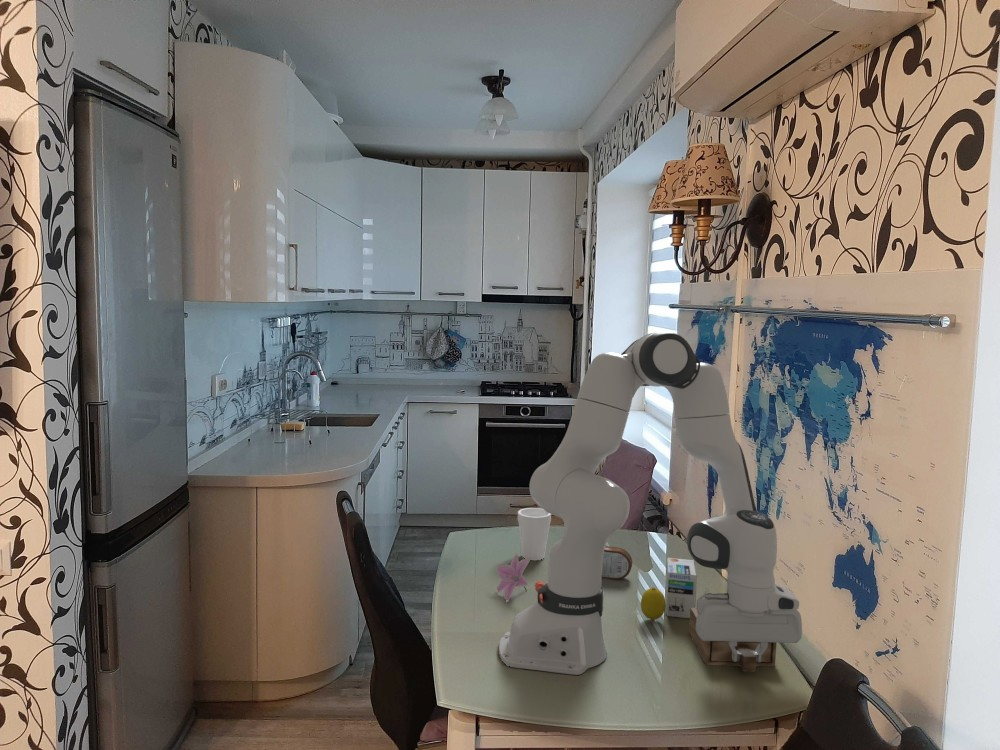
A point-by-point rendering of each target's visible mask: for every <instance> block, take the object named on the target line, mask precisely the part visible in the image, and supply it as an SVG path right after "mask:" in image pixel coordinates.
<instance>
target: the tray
mask: <svg viewBox="0 0 1000 750" xmlns="http://www.w3.org/2000/svg"><path fill="white" fill-rule="evenodd" d="M758 645H759V643H758V642H737V646H734V647H735V649H736V650H739V651H740V652H741V654H742V658H741V659H742V661H741V662H738V664H739V665H740V666H739V667H740V669H741V670H742V672H756V667H757V666H756V656H755V654H754V653H753V652H752V650H756V648H757V646H758ZM710 659H711V661H733V660H732V650H731V648H730V646H729V644H728V642H727V641H711V642H710ZM770 659H771V642H768V647H767V649H766V650H765V651H764V653H763V654H762V655H761V662H770Z"/></svg>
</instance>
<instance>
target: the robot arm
mask: <svg viewBox="0 0 1000 750" xmlns="http://www.w3.org/2000/svg"><path fill="white" fill-rule="evenodd" d="M640 387H664V388H665V390H668V392H669V394H670V396H671V399H672V403H673V410H674V412H673V413H674V424H675V432H676V437H677V440H678V442H679V445H680V447H681V448H682V449H683V451H685V452H686V453H687V454H688V455H690V456H691V457H693V458H695V459H697V460H699V461H702V462H704V463H706V464H709V465H710V466H711V467H712V468H713V469H714V470H715V472H716V473H717V475H718V480H719V484H720V488H721V493H722V497H723V498H722V499H723V501H724V507H725V510H724V513H723V514H722V515H719V516H716V517H711V518H708V519H703V520H700V521H698V522H695V523H694V524H693V525H691V526H690V528H689V530H688V531H687V534H686V535H687V536H686V545H687V549H688V552H689V555H690V556H691V557H692V560H694V562H695V563H697V564H699V565H700V566H702V567H705V568H709V569H715V570H725V571H727V581H726V583H727V585H726V592H725V593H722V592H721V593H719V592H718V593H711V592H706V593H704V594H703V595H701V596H700V597H698V599H696V608H697V612H698V614H697V620H696V632H697V634H698V636H699V637H700V638H701V639H702V640H703V641H727V642H728V644H729V646H730V648H731V650H732V660H733V661H734V662H741V661H742V659H741V658H742V654H741V652H740V651H739V650H736V649H735V647H734V646H737V642H758V643H759V645H758V646H757V648H756V650H752V652H753V653H754V654H755V656H756V662H761V655H762V654H763V653H764V651H765V650H766V649H767V647H768V642H775V643H776V644H778V643H781V644H784V643H785V644H797V643H799V642H800V640H801V639H802V637H803V622H802V615H801V613H800V611H798V610H799V608H800V601H799V599H798V598H797V596H796V595H795V594H794V593H793V592H792V591H790V590H789V589H788V588H787V587H785V586H783V585H779V584H776V580H775V575H774V572H775V571H774V570H775V566H776V564H777V556H778V554H777V553H778V544H777V543H778V538H777V535H778V534H777V530H776V527H775V526H776V525H775V523H774V522H773V520H772V519H771V518H770V517H769V516H767V515H766V514H764V513H762V512H759V511H758V510H757V507H756V503H755V498H754V494H753V489H752V485H751V481H750V476H749V471H748V466H747V461H746V458H745V455H744V451H743V448H742V447H741V445H740V443H739V442H738V440H737V439H736V436H735V433H734V430H733V426H732V421H731V415H730V413H731V412H730V405H729V404H730V403H729V399H728V395H727V389H726V385H725V382H724V379H723V376H722V373H721V371H720V370H719V369H718V367H716V366H715V365H713V364H711V363H707V362H701V360H700V359H699V358H698V356H697V355H696V353H695V352H694V351H693V349H692V347H691V345H690V344H689V342H688V341H687V340H686V339H685V338H684V337H683V336H682V335H680V334H678V333H676V332H672V331H668V330H666V331H665V330H663V331H657V332H651V333H647V334H645V335H643V336H641V337H640V338H638V339H636V340H635V341H633V342H632V343H631V344H629V346H628V347H627V348H626V349H624V351H623V352H622V353H621V354H620V353H616V352H602V353H600V354H598V355H596V356H595V357H594V358H593V359H592V361H591V362H590V365H589V367H588V368H587V371H586V372H585V375H584V378H583V380H582V382H581V386H580V388H579V391H578V394H577V397H576V401H575V404H574V407H573V411H572V414H571V418H570V421H569V424H568V426H567V430H566V432H565V435H564V437H563V438H562V440H561V443H560V444H559V446H558V447H557V448H556V451H554V453H553V454H552V456H551V457H550V458H549V459H548V460H547V461H546V462H545V463H543V464H541V465H540V466H538V467H537V468H536V469H535V470H534V472H533V473H532V475H531V477H530V480H529V493H530V496H531V498H532V500H533V502H535V503H536V504H537V505H538V506H539V508H541V509H544V510H545V511H546V512H548V513H550V514H551V516H552V515H553V516H555V517H557V518H559V519H561V520H563V523H564V527H563V532H562V534H561V538H560V539H559V540H557V541H556V542H554V543H553V544H552V545H551V547H550V548H549V551H548V566H547V568H548V569H547V583H544V581H542V580H536V582H535V584H534V587H535V588H534V589H535V591H536V592H537V601H535V602H534V603H532V604H531V605H529V606H528V607H526V608H524V609H523V610H521V611H520V612H518V613H517V614H516V615H515V617H514V618H513V621H512V623H511V628H510V631H507V632H505V633H504V634H503V635H502V636H501V637H500V640H499V644H498V655H499V654H500V656H499V658H500V657H501V659H502V660H501V659H500V660H501V662H502V661H503V662H504V663H505V664H506V665H505V664H504V663H503V662H502V663H503V664H504V665H505V666H506V667H509V666H510V668H516V669H526V670H534V671H540V672H541V671H542V672H551V673H557V674H565V675H575V676H577V675H581V674H583V673H585V672H586V671H587V670H588V669H590V668H593V667H596V666H598V665H600V664H601V663H603V662H604V661H605V660H606V658H607V655H608V653H607V649H606V645H605V642H604V636H603V628H602V616H603V611H604V591H603V587H602V578H601V577H602V562H603V554H604V550H605V547H606V546H607V544H608V541H609V539H610V538H611V536H612V535H613V534H614V533H615V532H618V531H619V530H620V529H621V528H622V527H623V526H624V525H625V523H626V522H627V520H628V517H629V513H630V508H631V506H630V498H629V495H628V493H627V492H626V491H625V490H624V489H623V488H622V487H620V486H619V485H618V484H616V483H615V482H614V481H612V480H611V479H609V478H607V477H604V476H601V475H599V474H595V473H596V471H597V470H598V468H599V466H600V464H601V463H602V462H603V461H604V459H606V458H607V457H609V456H610V455H612V454H614V453H615V452H617V450H618V449H619V448H620V446H621V442H622V440H623V436H624V433H625V428H626V426H627V421H628V419H629V414H630V411H631V407H632V402H633V399H634V397H635V395H636V394H637V391H638V390H639V389H640ZM505 638H507V639H505Z"/></svg>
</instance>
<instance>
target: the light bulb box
mask: <svg viewBox="0 0 1000 750" xmlns="http://www.w3.org/2000/svg"><path fill="white" fill-rule="evenodd" d="M695 563H696V562H695V560H694V559H684V558H674V557H667V559H666V580H665V581H666V582H665V583H666V585H665V586H666V587H665V588H666V589H665V611H666V616H667V617H675V618H681V619H682V618H684V619H690V608H696V607H697V580H698V579H697V578H698V574H697V570H696V566H695Z"/></svg>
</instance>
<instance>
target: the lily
mask: <svg viewBox="0 0 1000 750" xmlns="http://www.w3.org/2000/svg"><path fill="white" fill-rule="evenodd" d="M530 560H531V558H526V559H524V558H522V559H521V560H520V561H519V555H518V553H515V554H514V555H513V558H512V560H511V561H510V564H500V565H497V566H496V567H495V570H496V573H497V575H498V577H499V578H500V580H501V581H500V583H499V584H498V585H497V587H496V589H497V590H498V592H497V593H499V592H502V591H503V597H504V600H505V599H506V600H508V602H510V599H511V597H512V595H513V592H514V590H515V588H516V587H523V588H524V590H525V591H526V590H527V588H526V587H527V586H528V582H527V580H526V578H525V576H524V575H523V573H524V571H525V570H526V568H527V566H528V565H529V563H530Z"/></svg>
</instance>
